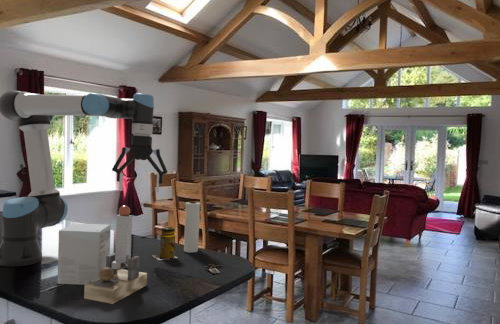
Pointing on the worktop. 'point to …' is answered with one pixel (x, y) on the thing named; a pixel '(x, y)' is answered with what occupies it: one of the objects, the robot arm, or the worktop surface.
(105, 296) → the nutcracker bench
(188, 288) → the worktop surface
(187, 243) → the paper towel roll
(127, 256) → the lever
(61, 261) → the supplement box
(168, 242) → the condiment
